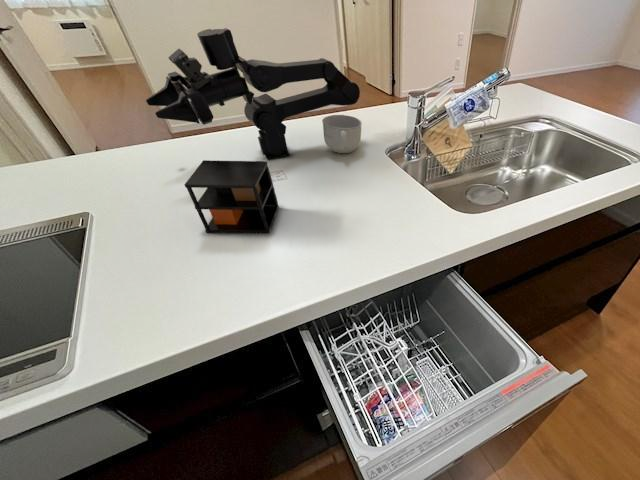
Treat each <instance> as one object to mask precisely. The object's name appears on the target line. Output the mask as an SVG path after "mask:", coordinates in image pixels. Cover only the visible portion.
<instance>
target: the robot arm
mask: <svg viewBox="0 0 640 480" xmlns="http://www.w3.org/2000/svg"><path fill="white" fill-rule="evenodd" d="M196 35H197V38H198V40H199V42H200V44H201V46H202V49H203V52H204V53H205V56H206V58H207V61H208V63H209V65H210V66H212V67H215V68H216V70H218V72H215V73H211V74H209V73H208V72H206V71H202V67H203V65H202V64H201V63H200V61H199V60H198V59H197V58H196V57H189V56H188V55H187V54H186V52H184V51H183V50H182V49H181V48H177V49H176V50H175V51H174V52H173V53H171V54H170V55H169V56H168V60H169V61H170V62H171V63H172V64H174V65H175V67H176V68H178V70H179V71H180V72H182V74H181V73H179V72H177V71H173V72H169V73H167V76H166V77H165V79H166V80H165V85H164V86H163V87H161V88H160V89H159V90H158V91H156V92H155V93H154V94H152V95H151V96H149V97H148V98H146V99H145V102H146V103H147V105H148V106H150V107H151V106H153V107H162V108H160V109H158V110H157V111H155V112H154V114H155V116H156V117H157V118H158V119H162V120H172V121H182V122H187V123H188V122H190V123H195V124H202V125H203V126H204V125H205V126H206V125H208V124H210V123H213V120H214V115H213V113H212V110H211V108H210V107H213V106H216V105H219V106H220V107H223V106H225V105H226V103H225V102H229V101H232V100H235V99H237V98H238V99H239V98H241V97H242V99H243V101H245V102H246V103H245V106H244V111H243V112H244V116H245V118H246V119H247V120H248V122H249V123H251V124H252V125H253V126H255V128H257V129H258V130H257V132H258V135H259V136H257V141H258V145H259V148H260V151H261V153H262V155H263V156H264V157H265V159H266V160H272V159H279V158H285V157H290V156H291V153H290V152H289V150H288V144H287V140H286V132H287V126H286V125H285V124H284V123H283V122H284V120H286V119H287V118H292V117H294V116H298V115H301V114H304V113H308V112H311V111H315V110H318V109H322V108H324V107H328V106H343V107H344V106H353V105H356V104H357V103H358V102H359V101H358V100H359V99H360V95H361V90H360V87H359V84H357V83H356V82H354V81H352V80H350V79H349V78H348V77H347V76H346V75H345V74H344V73H342V72H341V71H340V69H338V68H337V66H335V64H334V62H332V61H331V60H328V59H326V58H323V57H321V58H319V59H309V60H300V61H291V62H272V61H269V60H268V61H267V60H260V59H252V58H251V59H248V60H247V59H245V58H243V57H241V56H240V55H239V52H238V50H237V47H236V44H235V42H234V37H233V34H232V31H231V29H229V28H227V27H225V28H215V29H211V28H208V29H203V30H200V31H198V32H197V34H196ZM240 72H241V73H242V76H241V74H240ZM183 75H184V76H183ZM322 79H323V80H324V82H325V83H326V84H325V85H324V86H323V87H320V88H317V89H313V90H309V91H304V92H302V93H297V94H294V95H290V96H287V97H283V98H280V99H275V98H273V96H271V95H269V94H268V93H269V92H271V91H274V90H277V89H279V88H281V87H282V86H283V85H286V84H290V83H299V82H306V81H314V80H322ZM248 84H249V86H250V87H252V88H254V89H256V91H258V92H261V93H263V94H261V95H259V96H255V93H254V92H253V91H251V90H250V88H249V86H248Z"/></svg>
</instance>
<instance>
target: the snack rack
mask: <svg viewBox="0 0 640 480" xmlns="http://www.w3.org/2000/svg"><path fill="white" fill-rule="evenodd" d="M183 186H184V187H185V188H186V190H187V192H188V195H189V196H190V199H191V201H192V203H193V205H194V209H195V210H196V212H197V214H198V216H199V218H200V221H201V223H202V225H203V227H204V231H205V233H206V234H271V231H272V227H273V225H274V222H275V219H276V217H277V214H278V211H279V209H280V206H279V202H278V198H277V194H276V190H275V187H274V183H273V179H272V175H271V171H270V170H269V163H268V161H267V160H265V161H263V160H262V161H261V160H209V159H208V160H205V159H204V160H202V161H201V162H200V164H199V165H198V166H197V168H196V169H195V171H193V173H192V174H191V175H190V177H189V178H188V179H187V181H186V182H185V183H184V184H183ZM193 188H194V189H198V188H199V189H200V188H202V189H204V188H205V191H204V192H203V194H202V195H201V196H200V198H199V200H198V199H197V197H196V194H195V192H194V189H193ZM203 210H209V212H210V214H211V217H212V218H211V220H209V222H208V221H207V219H206V217H205V215H204V213H203Z"/></svg>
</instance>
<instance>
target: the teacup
mask: <svg viewBox="0 0 640 480" xmlns="http://www.w3.org/2000/svg"><path fill="white" fill-rule="evenodd" d="M321 121H322V130H323V131H322V132H323V138H324V143H325V144H326V146H327V147H328V148H329V149H331V151H333V152H334V153H338V154H350V153H352V152H354V151H356V150H357V148H359V146H360V144H361V141H362V140H361V138H362V121H361V120H360V119H359V118H357V117H356V116H355V117H354V116H351V115H346V114H345V115H344V114H333V115H327V116H325V117H323V118H322V120H321Z"/></svg>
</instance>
